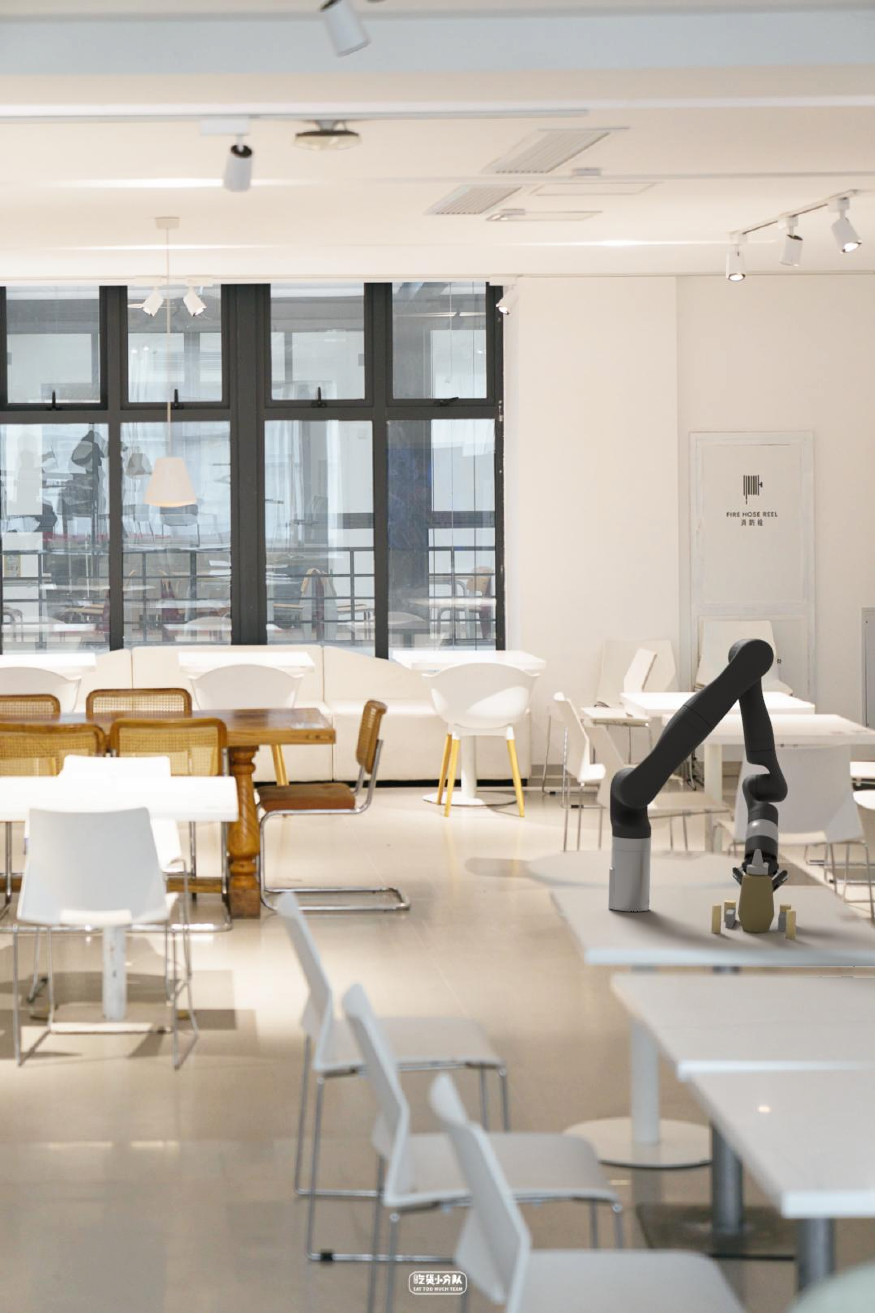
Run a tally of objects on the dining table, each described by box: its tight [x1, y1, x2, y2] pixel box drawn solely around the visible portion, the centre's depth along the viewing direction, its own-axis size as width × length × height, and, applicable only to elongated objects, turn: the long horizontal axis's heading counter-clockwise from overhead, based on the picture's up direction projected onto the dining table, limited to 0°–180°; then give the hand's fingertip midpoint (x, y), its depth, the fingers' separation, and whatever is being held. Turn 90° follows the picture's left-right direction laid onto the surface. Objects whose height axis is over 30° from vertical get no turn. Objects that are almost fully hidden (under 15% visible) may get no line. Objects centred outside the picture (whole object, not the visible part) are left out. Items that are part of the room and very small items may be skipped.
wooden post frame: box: [710, 899, 797, 940], centre depth 342 cm, size 18×18×6 cm
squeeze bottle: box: [737, 849, 775, 933], centre depth 339 cm, size 8×8×18 cm
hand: (758, 905), depth 343 cm, fingers closed
